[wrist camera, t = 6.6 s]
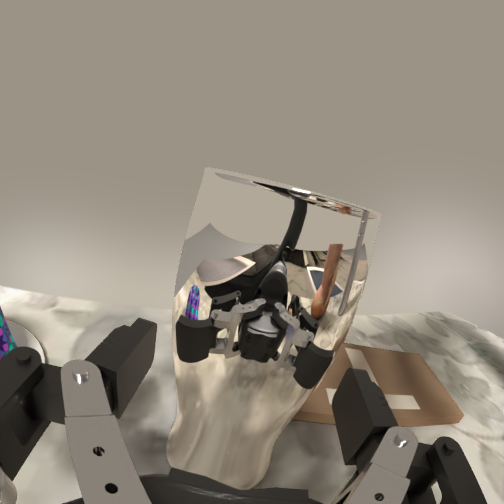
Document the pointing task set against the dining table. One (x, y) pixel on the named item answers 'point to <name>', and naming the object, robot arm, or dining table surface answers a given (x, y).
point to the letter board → (387, 387)
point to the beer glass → (259, 316)
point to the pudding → (16, 337)
